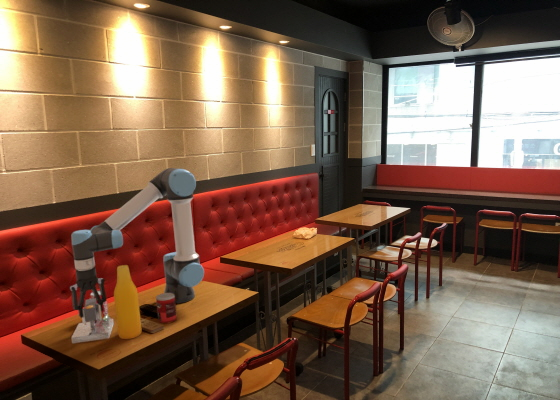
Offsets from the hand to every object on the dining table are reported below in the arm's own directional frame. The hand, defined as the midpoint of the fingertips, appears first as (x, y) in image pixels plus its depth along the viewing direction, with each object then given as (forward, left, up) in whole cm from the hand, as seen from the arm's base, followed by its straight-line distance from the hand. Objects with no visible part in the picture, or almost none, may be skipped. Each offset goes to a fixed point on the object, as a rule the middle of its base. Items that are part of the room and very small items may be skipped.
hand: (92, 321), depth 191 cm
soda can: (0, -16, -5) cm, 17 cm away
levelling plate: (0, 0, -5) cm, 5 cm away
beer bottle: (-15, +6, -5) cm, 17 cm away
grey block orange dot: (0, 0, -2) cm, 2 cm away
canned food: (-30, -4, -6) cm, 31 cm away
